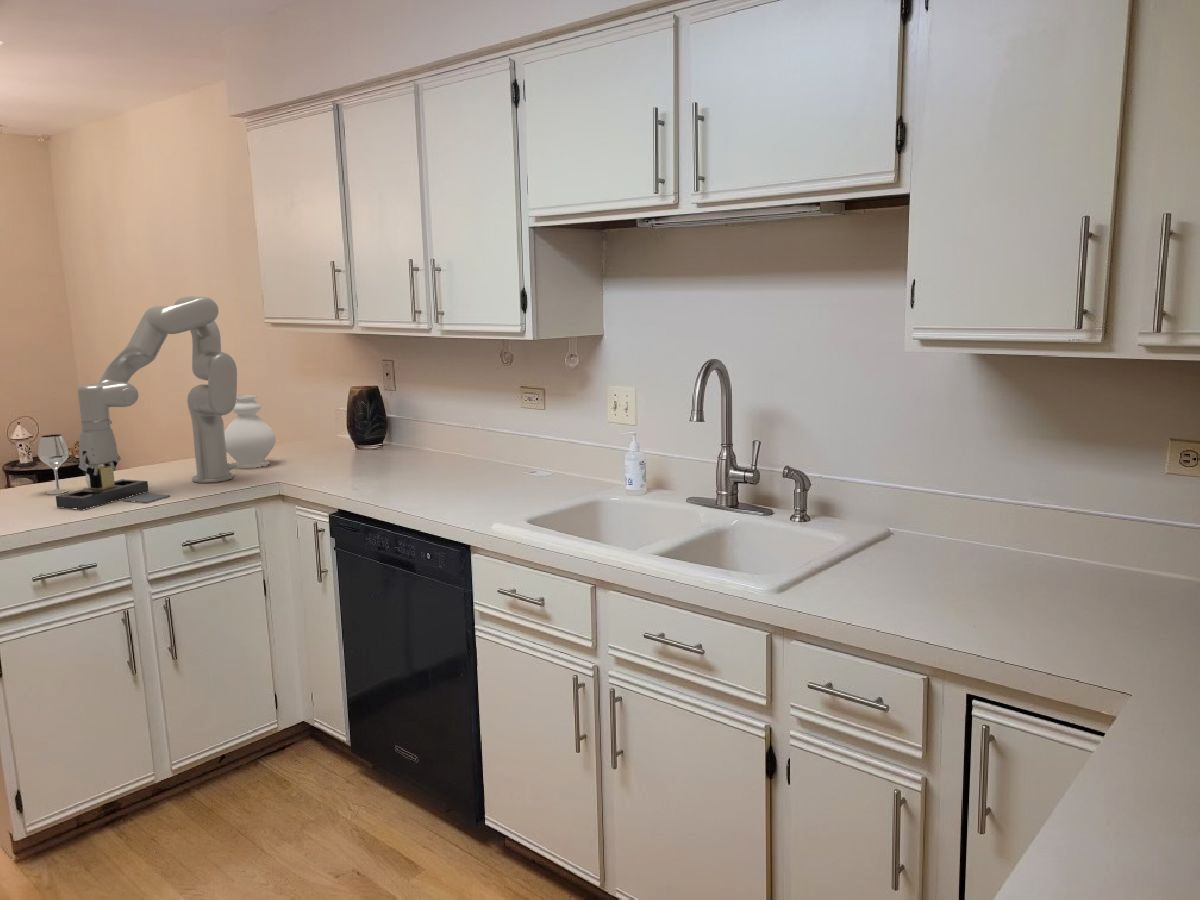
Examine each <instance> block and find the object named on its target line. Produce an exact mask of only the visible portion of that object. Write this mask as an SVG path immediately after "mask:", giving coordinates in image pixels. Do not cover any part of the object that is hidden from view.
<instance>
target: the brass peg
mask: <svg viewBox="0 0 1200 900" xmlns="http://www.w3.org/2000/svg"><path fill="white" fill-rule="evenodd" d="M92 469H93V467H92ZM113 473H114V471H113V466H98V474H97V475H99V477H100V486H101V487H100V488H91V490H97V491H104V490H108V489H112V488H115V484H114V481H115V475H114V474H115V473H114V474H113Z"/></svg>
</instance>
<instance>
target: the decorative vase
mask: <svg viewBox="0 0 1200 900" xmlns="http://www.w3.org/2000/svg"><path fill="white" fill-rule="evenodd" d="M257 398H258V397H257V395H256V394H242V395H241V394H239V395H237V397H236V404H235V407H234V409H233V410H232V412H234V414H236V415H237V416H236V417H235V418H233V420H232V421H231V422H230V423H229V424H228V426H226V428H225V429H224V430H225V443H226V453H227V454H228V455H229V456H230V457H231V458H233V460H235V462H234V463H235V464H236V465H237V467H236V468H235V469H239V468H249V469H256V468H255V467H259V468H262V467H261V466H264V467H266V466H265V465H267V466H269V465H270V461H268V460H265V459H266V458H267V457H268V456H269V455H270V453H271V451H272V450H273V449H274V447H275V444H276V434H275V432H274V430H273V429H272V427H271V426H270V425H269V424H268V423H267V422H266V421H265V420H264V419H263V418H261V417H260V416H259V415H258V412H259V411H260V410H261V404H260V403H259V402H258V401H256V400H255V399H257ZM268 464H269V465H268Z"/></svg>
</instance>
